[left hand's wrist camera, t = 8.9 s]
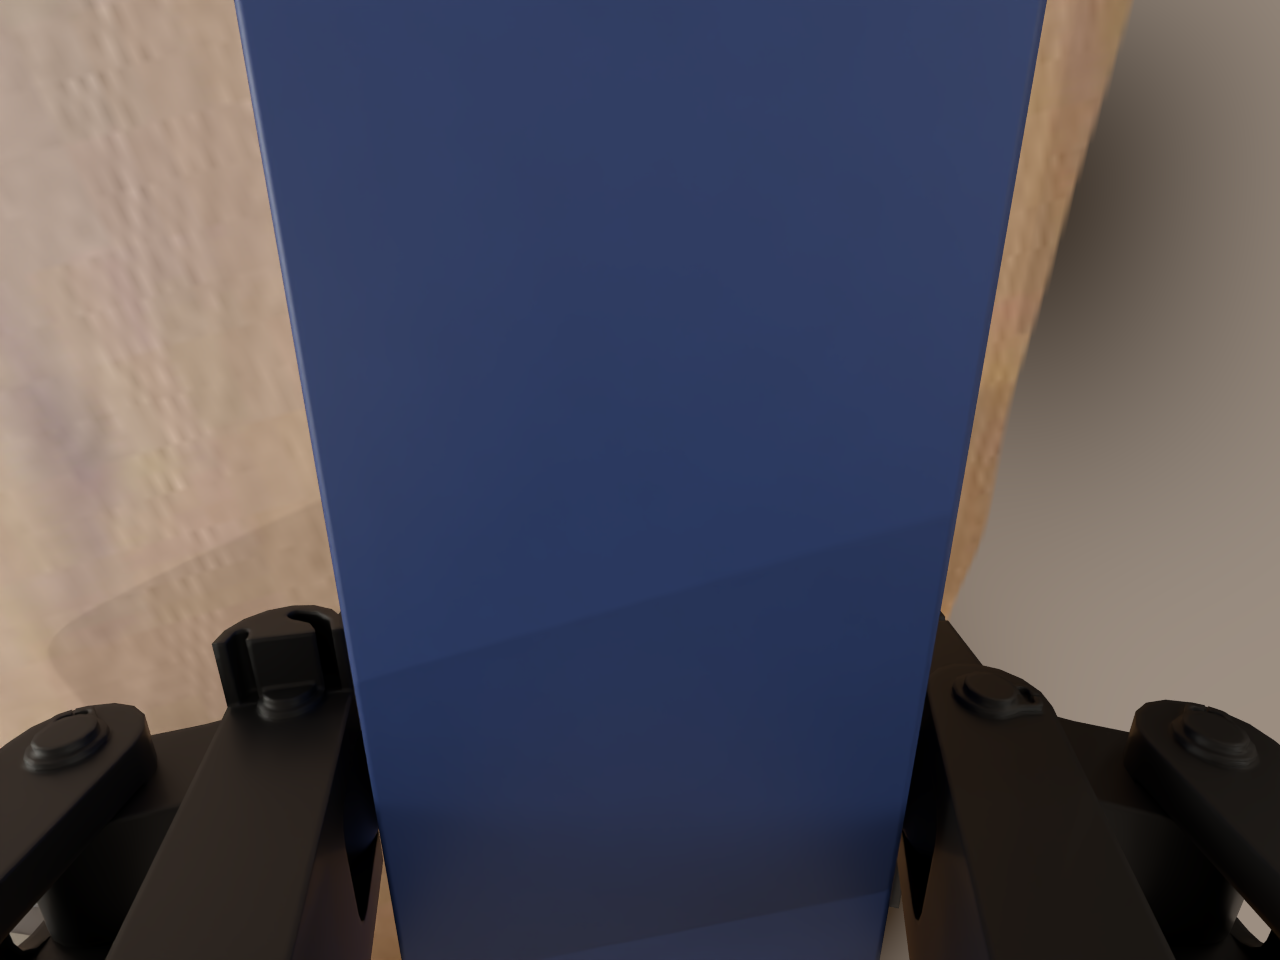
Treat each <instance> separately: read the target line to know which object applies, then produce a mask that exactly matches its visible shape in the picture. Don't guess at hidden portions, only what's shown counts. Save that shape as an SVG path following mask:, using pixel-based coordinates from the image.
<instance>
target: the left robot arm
mask: <svg viewBox="0 0 1280 960" xmlns="http://www.w3.org/2000/svg"><path fill="white" fill-rule="evenodd" d="M212 647H213V651H214V655H215V659H216V663H217V667H218V671H219V674H220V678H221V682H222V686H223V690H224V694H225V698H226V702H227V706H228V708H227V710H226V712H225V714H224V716H223V718H222V720H220V721H216V722H212V723H209V724H205V725H200V726H195V727H190V728H185V729H180V730H175V731H170V732H165V733H161V734H156V735H151V734H150V731H149V728H148V725H147V721H146V718H145V715H144V714H143V713H142V712H141V711H139V710H138V709H137V708H136V707H135V706H130V705H124V704H118V703H111V704H102V705H93V706H86V707H81V708H77V709H76V710H73V711H72V710H70V711H67V712H64V713H61V714H58V715H56V716H54V717H53V718H51V719H49V720H47V721H44V722H42V723H40V724H38V725H36V726H33V727H31V728H30V729H28V730H27V731H25V732H24V733H22V734H21V735H19V736H18V737H16V738H15V739H13V740H12V741H10V742H9V743H7V744H6V745H4V746H3V747H2V748H1V749H0V960H371V953H372V945H373V937H374V929H375V921H376V913H377V905H378V897H379V889H380V881H381V873H382V865H383V856H382V849H381V842H380V836H379V830H378V829H379V827H378V821H377V816H376V810H375V804H374V798H373V793H372V787H371V781H370V775H369V770H368V764H367V758H366V753H365V747H364V741H363V735H362V730H361V724H360V718H359V712H358V707H357V701H356V695H355V690H354V684H353V678H352V672H351V667H350V661H349V655H348V649H347V644H346V638H345V632H344V627H343V621H342V615H341V612H340V613H339V614H337V613H336V612H335V611H333V610H332V609H329V608H324V607H320V606H315V605H302V606H288V607H283V608H278V609H273V610H268V611H265V612H262V613H260V614H257V615H254V616H251V617H249V618H246V619H244V620H242V621H240V622H238V623H237V624H235V625H233V626H232V627H230V628H228V629H227V630H225V631H224V632H223V633H222V634H221V635H220V636H219V637H218V638H217V639H216V640H215V641H214V642H213V643H212ZM901 895H902V903H903V911H904V919H905V927H906V935H907V943H908V951H909V959H910V960H1280V745H1279V744H1278V743H1277V742H1276V741H1274V740H1273V739H1271V738H1270V737H1268V736H1267V735H1265V734H1264V733H1262V732H1261V731H1259V730H1258V729H1256V728H1255V727H1253V726H1252V725H1250V724H1248V723H1246V722H1244V721H1242V720H1239V719H1237V718H1235V717H1233V716H1230V715H1228V714H1227V713H1226V712H1224V711H1221V710H1218V709H1215V708H1212V707H1205V705H1201V704H1196V703H1191V702H1181V701H1172V700H1161V701H1155V702H1148V703H1145V704H1144V705H1143V706H1142V707H1141V708H1139V709H1138V710H1137V711H1136V712H1135V716H1134V719H1133V722H1132V726H1131V729H1130V732H1125V731H1120V730H1115V729H1110V728H1105V727H1100V726H1095V725H1090V724H1086V723H1081V722H1076V721H1072V720H1068V719H1064V718H1060V717H1057V715H1056V713H1055V711H1054V709H1053V707H1052V705H1051V704H1050V703H1049V702H1048V700H1047V699H1046V698H1045V697H1044V695H1043V694H1042V693H1041V692H1040V691H1039V690H1037V689H1036V688H1034V687H1033V686H1032V685H1030V684H1029V683H1027V682H1026V681H1024V680H1023V679H1021V678H1019V677H1016V676H1014V675H1012V674H1009V673H1007V672H1005V671H1002V670H1000V669H996V668H991V667H987V666H983V665H982V664H981V663H980V661H979V660H978V659H977V657H976V656H975V655H974V654H973V652H972V651H971V650H970V648H969V647H968V646H967V645H966V643H965V642H964V641H963V639H962V638H961V637H960V635H959V634H958V633H957V632H956V630H955V629H954V628H953V626H952V625H951V624H950V622H949V621H945V616H944V615H943V613H942V612H941V611H940V616H939V622H938V627H937V633H936V639H935V644H934V650H933V656H932V662H931V667H930V673H929V679H928V685H927V690H926V696H925V702H924V708H923V713H922V719H921V725H920V730H919V736H918V742H917V748H916V753H915V759H914V765H913V771H912V776H911V782H910V788H909V794H908V799H907V805H906V811H905V816H904V822H903V828H902V834H901V839H900V845H899V851H898V857H897V862H896V868H895V874H894V880H893V885H892V891H891V897H890V903H889V906H890V907H895V908H899V904H900V898H901ZM1243 900H1245V901H1246V902H1247V903H1248V904H1249V905H1250V906H1251V907H1252V909H1253V910H1254V911H1255V912H1256V913H1257V914H1258V915H1259V916H1260V917H1261V919H1262V920H1263V921H1264V922H1265V923H1266V924H1267V925H1268V926H1269V927H1270V929H1271V932H1270V934H1269V936H1268V938H1267V940H1266V941H1265V942H1264V943H1262V942H1260V941H1259V940H1258V939H1257V938H1256V937H1255V936H1254V935H1253V934H1251V933H1250V932H1249V931H1248V930H1247V928H1246V927H1245V926H1244V925H1243V924H1242V923H1241V921H1240V920H1239V919H1238V918H1237V915H1238V912H1239V910H1240V908H1241V905H1242V903H1243Z"/></svg>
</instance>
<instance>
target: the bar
mask: <svg viewBox="0 0 1280 960" xmlns="http://www.w3.org/2000/svg"><path fill="white" fill-rule="evenodd" d="M234 2H235V8H236V14H237V20H238V25H239V31H240V37H241V43H242V48H243V54H244V60H245V65H246V71H247V77H248V83H249V88H250V94H251V100H252V106H253V111H254V117H255V123H256V128H257V134H258V140H259V146H260V151H261V157H262V163H263V168H264V174H265V180H266V186H267V191H268V197H269V203H270V209H271V214H272V220H273V226H274V231H275V237H276V243H277V249H278V254H279V260H280V266H281V272H282V277H283V283H284V289H285V294H286V300H287V306H288V312H289V317H290V323H291V329H292V335H293V340H294V346H295V352H296V357H297V363H298V369H299V375H300V380H301V386H302V392H303V398H304V403H305V409H306V415H307V420H308V426H309V432H310V438H311V443H312V449H313V455H314V461H315V466H316V472H317V478H318V483H319V489H320V495H321V501H322V506H323V512H324V518H325V523H326V529H327V535H328V541H329V546H330V552H331V558H332V564H333V569H334V575H335V581H336V586H337V592H338V598H339V604H340V609H341V615H342V621H343V627H344V632H345V638H346V644H347V649H348V655H349V661H350V667H351V672H352V678H353V684H354V690H355V695H356V701H357V707H358V712H359V718H360V724H361V730H362V735H363V741H364V747H365V753H366V758H367V764H368V770H369V775H370V781H371V787H372V793H373V798H374V804H375V810H376V816H377V821H378V827H379V833H380V838H381V844H382V850H383V856H384V861H385V867H386V873H387V878H388V884H389V890H390V896H391V901H392V907H393V913H394V919H395V924H396V930H397V936H398V941H399V947H400V953H401V959H402V960H880V954H881V948H882V943H883V937H884V931H885V925H886V920H887V914H888V908H889V902H890V897H891V891H892V885H893V880H894V874H895V868H896V862H897V857H898V851H899V845H900V839H901V834H902V828H903V822H904V816H905V811H906V805H907V799H908V794H909V788H910V782H911V776H912V771H913V765H914V759H915V753H916V748H917V742H918V736H919V730H920V725H921V719H922V713H923V708H924V702H925V696H926V690H927V685H928V679H929V673H930V667H931V662H932V656H933V650H934V644H935V639H936V633H937V627H938V622H939V616H940V610H941V604H942V599H943V593H944V587H945V581H946V576H947V570H948V564H949V558H950V553H951V547H952V541H953V535H954V530H955V524H956V518H957V513H958V507H959V501H960V495H961V490H962V484H963V478H964V472H965V467H966V461H967V455H968V449H969V444H970V438H971V432H972V427H973V421H974V415H975V409H976V404H977V398H978V392H979V386H980V381H981V375H982V369H983V363H984V358H985V352H986V346H987V341H988V335H989V329H990V323H991V318H992V312H993V306H994V300H995V295H996V289H997V283H998V277H999V272H1000V266H1001V260H1002V255H1003V249H1004V243H1005V237H1006V232H1007V226H1008V220H1009V214H1010V209H1011V203H1012V197H1013V191H1014V186H1015V180H1016V174H1017V168H1018V163H1019V157H1020V151H1021V146H1022V140H1023V134H1024V128H1025V123H1026V117H1027V111H1028V105H1029V100H1030V94H1031V88H1032V82H1033V77H1034V71H1035V65H1036V60H1037V54H1038V48H1039V42H1040V37H1041V31H1042V25H1043V19H1044V14H1045V8H1046V2H1047V0H234Z"/></svg>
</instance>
